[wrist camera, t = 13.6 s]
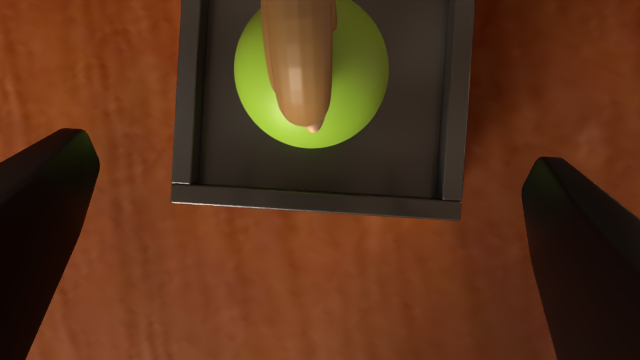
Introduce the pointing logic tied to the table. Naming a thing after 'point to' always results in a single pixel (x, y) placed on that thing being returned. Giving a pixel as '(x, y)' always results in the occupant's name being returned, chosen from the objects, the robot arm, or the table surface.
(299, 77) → the green two-tone figurine
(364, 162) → the square tray
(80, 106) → the table surface
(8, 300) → the robot arm
